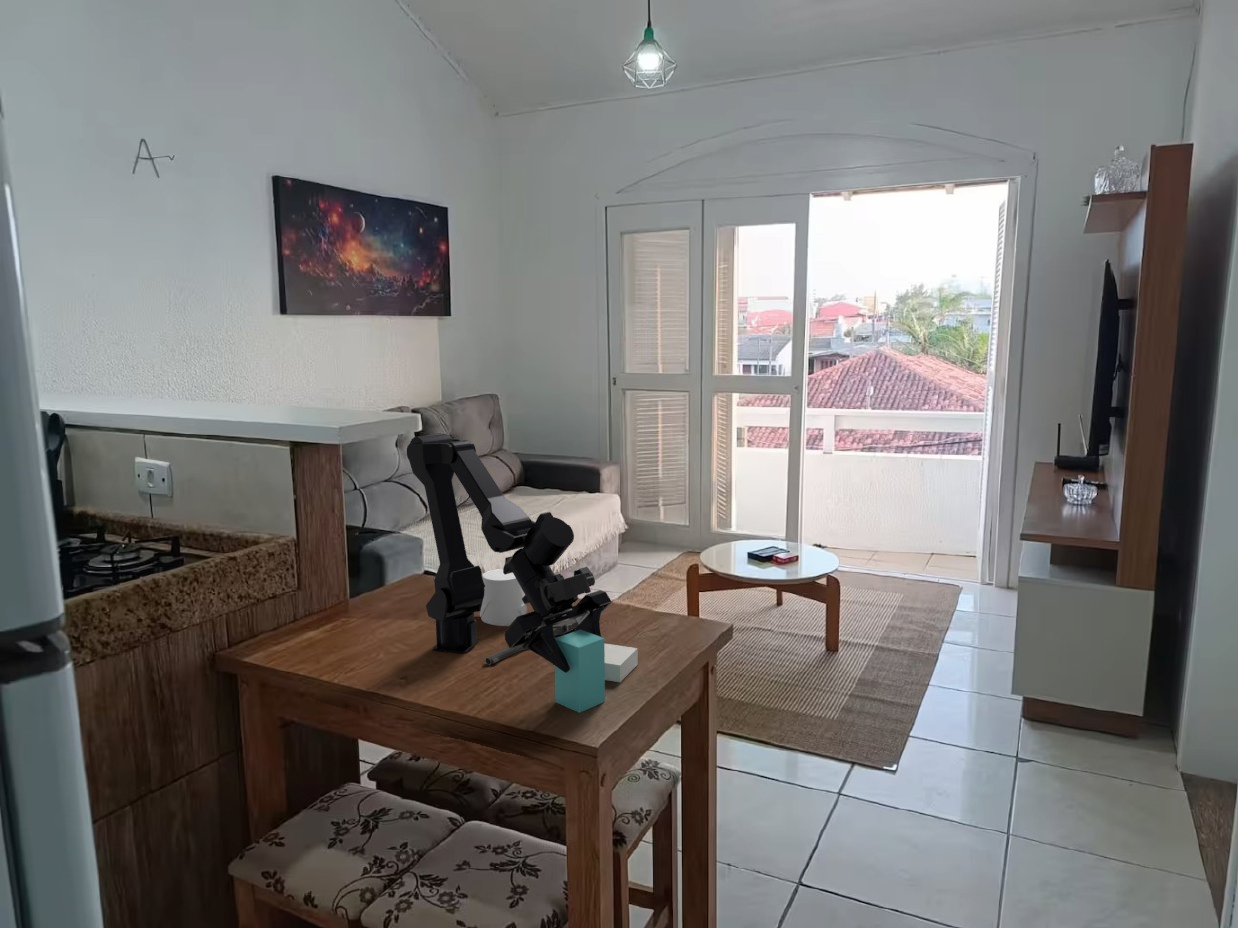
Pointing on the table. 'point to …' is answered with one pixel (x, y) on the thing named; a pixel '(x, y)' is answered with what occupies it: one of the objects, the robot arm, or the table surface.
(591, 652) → the tall brick
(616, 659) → the base brick
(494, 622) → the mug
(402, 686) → the table surface
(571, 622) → the firearm
